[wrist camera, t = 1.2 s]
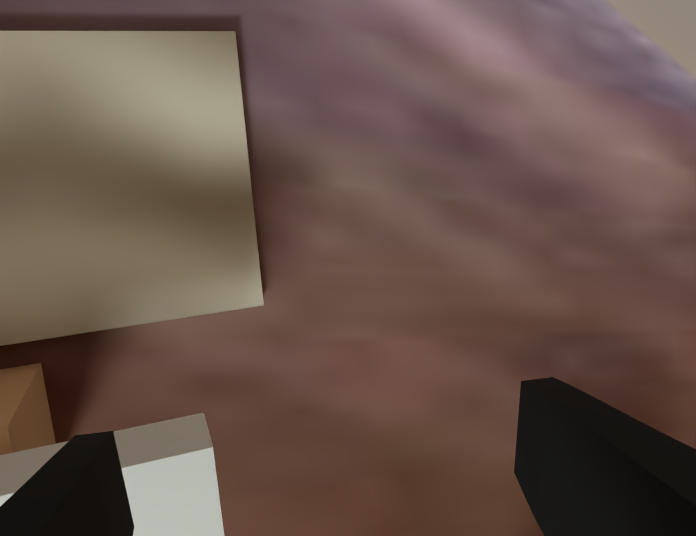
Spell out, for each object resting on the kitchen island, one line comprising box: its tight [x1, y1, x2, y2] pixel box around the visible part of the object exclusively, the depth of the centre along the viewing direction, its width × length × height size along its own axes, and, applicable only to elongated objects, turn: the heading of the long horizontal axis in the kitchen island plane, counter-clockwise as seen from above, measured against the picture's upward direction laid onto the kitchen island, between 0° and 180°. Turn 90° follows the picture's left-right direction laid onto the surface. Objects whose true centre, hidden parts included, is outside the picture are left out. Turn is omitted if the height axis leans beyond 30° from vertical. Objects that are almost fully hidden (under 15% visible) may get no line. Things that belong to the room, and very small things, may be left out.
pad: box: [0, 31, 264, 346], centre depth 20 cm, size 10×10×1 cm
